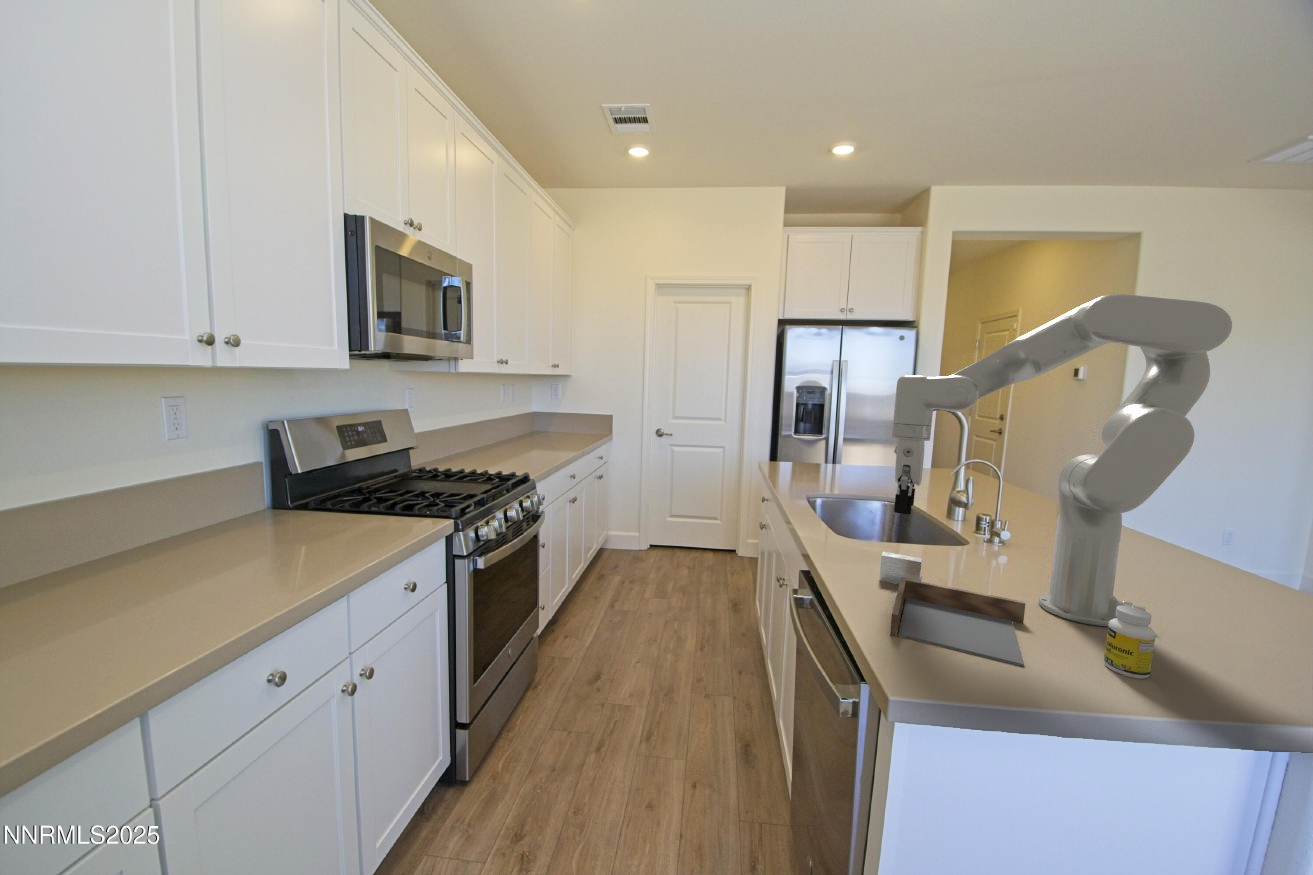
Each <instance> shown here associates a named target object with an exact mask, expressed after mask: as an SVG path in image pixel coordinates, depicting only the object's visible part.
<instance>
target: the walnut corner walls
mask: <svg viewBox="0 0 1313 875" xmlns="http://www.w3.org/2000/svg"><path fill="white" fill-rule="evenodd" d="M906 598H909V599H914V600H919V601H923V602H928V603H933V604H938V605H942V606H947V607H952V608H957V609H961V610H966V611H971V612H975V613H980V614H985V615H990V616H994V617H999V618H1004V619H1009V620H1012V622H1013V623H1017V624H1019V625H1020V624H1021V625H1024V620H1025V612H1026V611H1025V610H1026V602H1025V601H1022V600H1017V599H1012V598H1007V597H1002V596H997V595H993V594H988V593H987V594H986V593H982V592H977V591H972V590H967V589H962V588H961V589H960V588H955V587H950V586H946V585H942V584H935V583H932V582H931V583H930V582H925V581H921V580H920V581H916V580H910V579H907V578H904V577H901V580H900V584H898V589H897V592H896V596H895V600H894V603H893V607H892V611H891V616H890V617H891V618H890V630H889V631H890V633H889V636H890V637H894V638H897V635H898V632H899V628H900V623H901V622H900V621H901V618H902V617H901V616H902V614H903V609H904V605H905V600H906Z"/></svg>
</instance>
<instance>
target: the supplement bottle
mask: <svg viewBox="0 0 1313 875" xmlns="http://www.w3.org/2000/svg"><path fill="white" fill-rule="evenodd" d="M1116 616H1117V618H1114V619H1112V620H1110V621H1109V625H1108V626H1107V632H1106V639H1105V641H1106V642H1105V649H1104V654H1103V655H1104V656H1103V663H1104V665H1105V666H1106V667H1107V668H1109V669H1110V670H1111V671H1113V672H1114V673H1118V674H1120V675H1122V676H1124V677H1129V678H1133V679H1141V680H1143V679H1147V678H1149V677H1150V675H1151V671H1152V663H1153V657H1154V655H1153V654H1154V648H1155V641H1156V632H1155V630H1154V629H1153V628H1152V627H1150V625H1151V623H1152V614H1151V613H1150V612H1148V611H1147V610H1146V611H1144V610H1142V609H1138V608H1135V607H1130V606H1117V609H1116Z"/></svg>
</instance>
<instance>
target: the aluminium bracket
mask: <svg viewBox="0 0 1313 875" xmlns="http://www.w3.org/2000/svg"><path fill="white" fill-rule="evenodd" d="M880 555H881V557H880V567H879V568H880V570H879V581H880V580H882V581H881V582H885V581H886V583H889V582H890V583H891V584H894V583H896V585H899V584H900V580H901V577H904V578H907V579H910V580H916V581H921V577H922V563H923V558H921V557H916V556H912V555H911V556H910V555H905V554H898V553H893V552H889V551H888V552H887V551H882V553H881V554H880Z"/></svg>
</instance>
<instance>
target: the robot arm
mask: <svg viewBox="0 0 1313 875" xmlns="http://www.w3.org/2000/svg"><path fill="white" fill-rule="evenodd" d="M1232 329H1233V321H1232V317H1231V316H1230V315H1229V313H1228V312H1227V311H1226V310H1225V309H1224V308H1222V307H1220V306H1218V305H1216V304H1213V303H1209V302H1203V301H1199V300H1197V301H1196V300H1187V299H1177V298H1163V297H1158V296H1148V295H1147V296H1146V295H1135V294H1126V293H1125V294H1123V293H1112V294H1110V293H1109V294H1104V295H1102V296H1099V297H1096V298H1095V299H1092V300H1090V301H1088V302H1085V303H1083V304H1081V305H1080V306H1077V307H1075V308H1074V309H1071V310H1069V311H1068V312H1066V313H1064V314H1062V315H1059V316H1058V317H1056V318H1055V319H1053V320H1050V321H1048V322H1046V323H1045V324H1042V325H1040V326H1039V327H1037V328H1035V329H1033V330H1031V331H1029V332H1027V333H1025V334H1022V335H1021V336H1019V337H1017V338H1015V339H1014V340H1012V341H1010V342H1008V343H1007V344H1004V345H1003V346H1002V347H1000V348H999V349H997V350H995V351H994V352H992V353H991V354H988V355H987V356H985V357H983V358H982V359H980V360H977V361H976V362H974V363H972V364H970V365H968V366H965V367H964V368H962V369H959V370H958V371H956V372H954V373H952V374H951V375H948V376H935V377H934V376H928V375H917V374H915V375H909V374H908V375H901V376H900V377H899V378H898V379H897V381H896V391H895V401H894V409H893V410H894V412H893V423H892V434H891V435H892V436H891V438H893V439H897V441H896V442H897V444H896V453H895V456H896V457H895V466H894V467H895V470H894V471H895V474H894V476H895V477H894V481H895V483H896V485H897V488H896V493H895V499H894V510H893V511H894V513H895V514H901V515H902V514H903V515H911V513H912V507H913V506H914V504H915V496H916V495H915V493H916V488H915V485H916V487H920V486H921V485H922V478H923V469H924V459H925V441H926V442H927V441H928V442H929V441H931V435H932V425H933V424H932V423H933V415H934V414H933V413H934V409H936V410H941V411H949V412H954V413H957V412H959V413H960V412H964V411H966V410H969V409H971V408H972V407H973V406H974V405H975V404H976V403H977V402H978V400H980V399H982V398H984V397H986V396H988V395H990V394H992V393H994V392H997V391H999V390H1002V389H1004V388H1006V387H1009V386H1011V385H1015V384H1019V383H1022V382H1025V381H1029V380H1032V379H1035V378H1036V377H1040V376H1041V375H1044V374H1046V373H1048V372H1050V371H1052V370H1055V369H1057V368H1058V367H1060V366H1062V365H1065V364H1066V363H1069V362H1071V361H1072V360H1075V359H1077V358H1079V357H1081V356H1083V355H1086V354H1087V353H1089V352H1092V351H1093V350H1095V349H1097V348H1100V347H1102V346H1104V345H1107V344H1110V343H1114V344H1121V345H1126V346H1127V345H1128V346H1131V347H1132V346H1133V347H1138V348H1139V349H1140V350H1141V352H1142V354H1143V355H1144V358H1145V370H1144V373H1143V374H1142V377H1141V379H1140V380H1139V381H1138V383H1137V384H1136V386H1135V387H1134V389H1133V390H1132V391H1131V392H1130V394H1128V395H1127V397H1126V398H1125V400H1124V401H1122V403H1121V404H1120V405H1119V407H1118V408H1117V409H1116V410H1115V412H1113V414H1112V415H1111V416H1110V417H1109V418H1108V419H1107V420H1106V422H1105V423H1104V425H1103V427H1102V429H1101V438H1102V441H1103V443H1104V445H1105V446H1106V448H1105V449H1104V451H1103V452H1101V454H1096V453H1095V454H1093V453H1089V454H1081V455H1078V456H1076V457H1073V458H1072V459H1071V458H1070V459H1069V461H1067V462H1066V463H1065V465H1063V467H1062V469H1061V470H1060V473H1059V476H1058V516H1057V524H1056V525H1057V526H1056V532H1055V540H1054V541H1055V542H1054V547H1053V557H1052V564H1051V565H1052V569H1051V576H1050V583H1049V593H1046V594H1045V593H1044V594H1041V595H1040V596H1038V604H1039V606H1040V607H1041V608H1043V609H1044V610H1046V611H1048V612H1049V613H1051V614H1053V615H1055V616H1058V617H1061V618H1063V619H1067V620H1069V621H1074V622H1077V623H1082V624H1086V625H1091V626H1099V627H1108V625H1109V621H1110V620H1112V619H1114V618H1117V616H1116V609H1117V606H1130V607H1135V608H1138V609H1142V610H1144V611H1146V612H1147V610H1146V606H1140V605H1134V604H1133V602H1132V601H1126V600H1119V599H1117V598H1116V596H1115V595H1114V590H1115V584H1116V574H1117V566H1118V559H1119V552H1120V543H1121V538H1122V526H1123V518H1122V517H1123V516H1122V515H1123V514H1125V513H1128V512H1130V511H1133V510H1136V509H1137V508H1138V507H1140V506H1141V505H1143V504H1144V503H1145V502H1146V501H1147V500H1148V499H1149V498H1150V497H1152V495H1153V494H1154V493H1155V492H1156V491H1157V490H1158V489H1159V488H1160V486H1161V485H1163V483H1164V482H1165V481H1166V480H1167V479H1168V478H1169V476H1170V475H1171V474H1172V473H1173V472H1174V471H1175V470H1176V469H1177V467H1178V466H1179V465H1180V464H1181V463H1182V461H1184V459H1185V458H1186V457H1187V456H1188V454H1189V452H1191V449H1192V447H1193V444H1194V443H1195V442H1194V441H1195V430H1194V427H1193V425H1192V422H1191V421H1190V420H1189V419H1188V418H1187V417H1186V416H1187V415H1188V414H1189V412H1190V411H1191V410H1192V409H1193V407H1194V406H1195V404H1197V402H1198V401H1199V400H1200V399H1201V397H1202V396H1203V394H1204V392H1205V390H1206V389H1207V387H1208V385H1209V381H1210V376H1211V366H1210V359H1209V356H1208V354H1207V353H1208V352H1210V351H1213V350H1214V349H1216V348H1217V347H1219V346H1221V345H1222V344H1223V343H1225V342H1226V340H1227V339H1228V338H1229V337H1230V335H1231V334H1232V333H1231V332H1232Z"/></svg>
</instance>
